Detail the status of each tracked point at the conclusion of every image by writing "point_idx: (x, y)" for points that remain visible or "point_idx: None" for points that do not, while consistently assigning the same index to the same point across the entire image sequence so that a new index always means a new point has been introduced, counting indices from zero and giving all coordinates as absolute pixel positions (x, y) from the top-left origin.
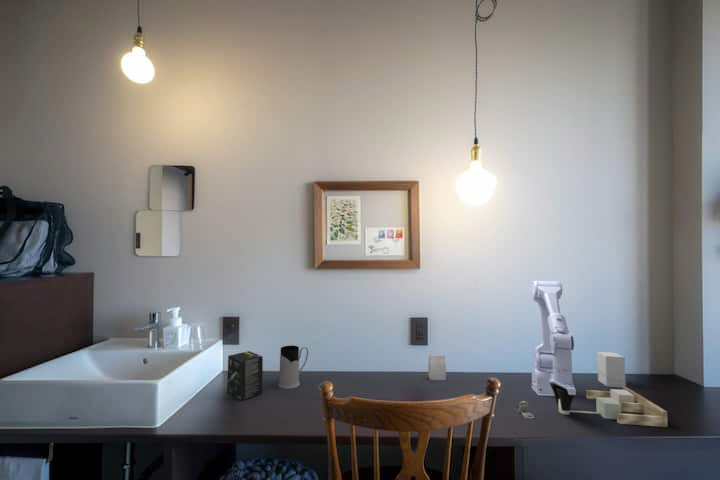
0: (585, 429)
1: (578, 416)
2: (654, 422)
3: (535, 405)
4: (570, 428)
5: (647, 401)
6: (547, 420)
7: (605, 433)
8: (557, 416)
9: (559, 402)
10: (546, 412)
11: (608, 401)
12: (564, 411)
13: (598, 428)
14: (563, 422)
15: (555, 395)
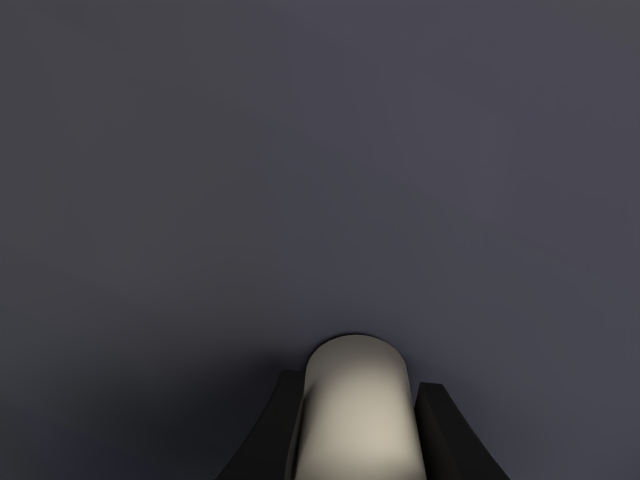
0: (34, 379)
1: None
2: None
3: (576, 151)
4: (3, 265)
5: None
6: (132, 102)
7: (16, 473)
8: (267, 271)
9: (353, 422)
10: (362, 198)
11: None
12: (309, 380)
13: (91, 472)
14: (127, 263)
15: (459, 473)
